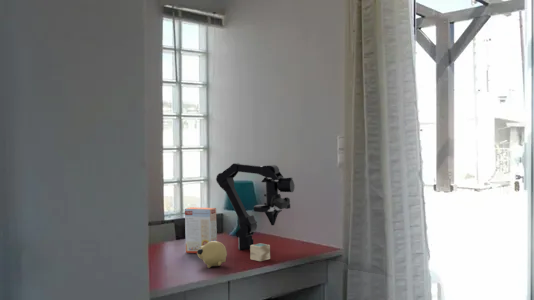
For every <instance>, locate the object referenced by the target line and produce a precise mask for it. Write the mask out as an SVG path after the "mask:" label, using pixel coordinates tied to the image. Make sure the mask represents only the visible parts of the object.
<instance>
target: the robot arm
mask: <svg viewBox="0 0 534 300" xmlns="http://www.w3.org/2000/svg"><path fill="white" fill-rule="evenodd" d="M238 173H248V174H256V175H259V176H261V177H264V178H263V179H261V183H265V193H264V194H263V195H264V196H263V197H265V202H264V204H256V205H254V206H253V212H257V213H265V215H266V217H267V219H268V221H269V223H270V225H271V226H275V224H276V221H277V217H278V215H279V213H280V212H282V210H283V209H286V210H288V209H291V201H290V200H291V199H290V197H288V196H287V197H283V198H282V197H281V193H294V192H295V191H294V190H295V182H294V180H293V177H284V176H283V174H282V173H281V172H280V168H279V167H278V165H276V164H269V165H267V164H266V165H255V164H254V165H253V164H245V163H239V162H236V163H232V164H231V165H230V166H229V167H227V168H226V169H224V170H223V171H222V172H220V173H218V174H217V175H216V178H215V180H216V183H217V184H218V185H219V187H220V188H221V189H222V190H223V191H224V192H225V194H226V196H227V197H228V200H229V202H230V204H231V206H232V207H233V209H234V211H235V213H236V215H237V218H238V225H239V229H238V230H237V231H236V232H235V236H236V237H237V238H238V246H237V249H238V250H239V251H247V250H250V245H254V238H253V235H254V233H255V231H256V230H257V228H258V225H257V223H258V221H256V218H255V216H254V215H250V214H249V213H248V212H247V210H246V208H245V206H244V204H243V202H242V200H241V198H240V196H239V193H238V192H237V190H236V188H235V187H236V186H235V180H234V178H235V177H236V176H237V175H238ZM279 192H280V193H279Z"/></svg>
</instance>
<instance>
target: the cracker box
mask: <svg viewBox="0 0 534 300" xmlns="http://www.w3.org/2000/svg"><path fill="white" fill-rule="evenodd" d="M184 219H185V220H184V227H185V228H184V229H185V233H184V235H185V253H187V254H188V253H189V254H197V251H198V249H199V248H200V247H201V246H204V245H205V244H207V243H208V242H211V241H218V233H217V231H218V229H217V227H218V226H217V224H218V223H217V208H216V207H199V206H198V207H186V208H184Z"/></svg>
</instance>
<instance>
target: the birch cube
mask: <svg viewBox="0 0 534 300" xmlns="http://www.w3.org/2000/svg"><path fill="white" fill-rule="evenodd" d="M249 251H250V255H249V258H250V260H252V261H257V262H263V261H267V260H270V259H271V245H270V244H266V243H260V242H259V243H255V244H254V243H253V245H250V249H249Z"/></svg>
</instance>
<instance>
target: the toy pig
mask: <svg viewBox="0 0 534 300" xmlns="http://www.w3.org/2000/svg"><path fill="white" fill-rule="evenodd" d="M196 254H197V257H198V258H199V259H200V260H202V261H203V263H204V264H205V265H206V266H207V269H211V268H212V267H218V266H221V265H222V264H223V263H226V262H227V261H226V259H227V255H228V252H227V247H226V246H225V245H224V244H223V243H222V242H220V241H218V240H217V241H211V242H208V243H207V244H205V245H204V246H201V247H200V248H199V249H198V251H197V253H196Z"/></svg>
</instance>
